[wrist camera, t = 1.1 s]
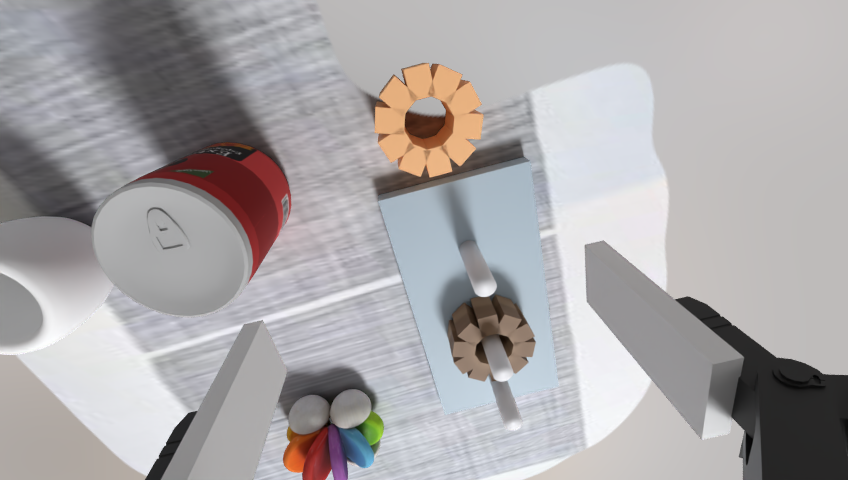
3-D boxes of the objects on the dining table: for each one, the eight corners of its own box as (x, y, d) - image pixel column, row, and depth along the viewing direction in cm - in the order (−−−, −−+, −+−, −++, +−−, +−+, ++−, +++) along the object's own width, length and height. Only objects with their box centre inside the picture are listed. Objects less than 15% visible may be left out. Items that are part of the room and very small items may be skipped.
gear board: (378, 195, 31) (376, 232, 24) (524, 156, 31) (562, 183, 24) (443, 403, 41) (454, 470, 34) (553, 375, 41) (586, 438, 34)
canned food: (252, 121, 28) (178, 153, 18) (314, 212, 31) (280, 282, 21) (166, 169, 29) (49, 226, 19) (234, 253, 32) (166, 339, 22)
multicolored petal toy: (281, 391, 39) (260, 458, 32) (377, 377, 39) (376, 441, 33) (301, 448, 42) (285, 518, 36) (389, 435, 43) (389, 503, 36)
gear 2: (439, 306, 34) (444, 327, 31) (518, 286, 34) (530, 305, 31) (455, 365, 37) (461, 389, 34) (528, 346, 37) (540, 369, 34)
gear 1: (363, 79, 27) (359, 81, 24) (461, 52, 27) (472, 51, 24) (390, 172, 30) (390, 187, 27) (478, 149, 30) (491, 161, 27)
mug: (59, 179, 29) (-51, 218, 21) (158, 257, 32) (93, 314, 25) (-32, 272, 31) (-158, 335, 24) (69, 336, 34) (-15, 408, 27)
